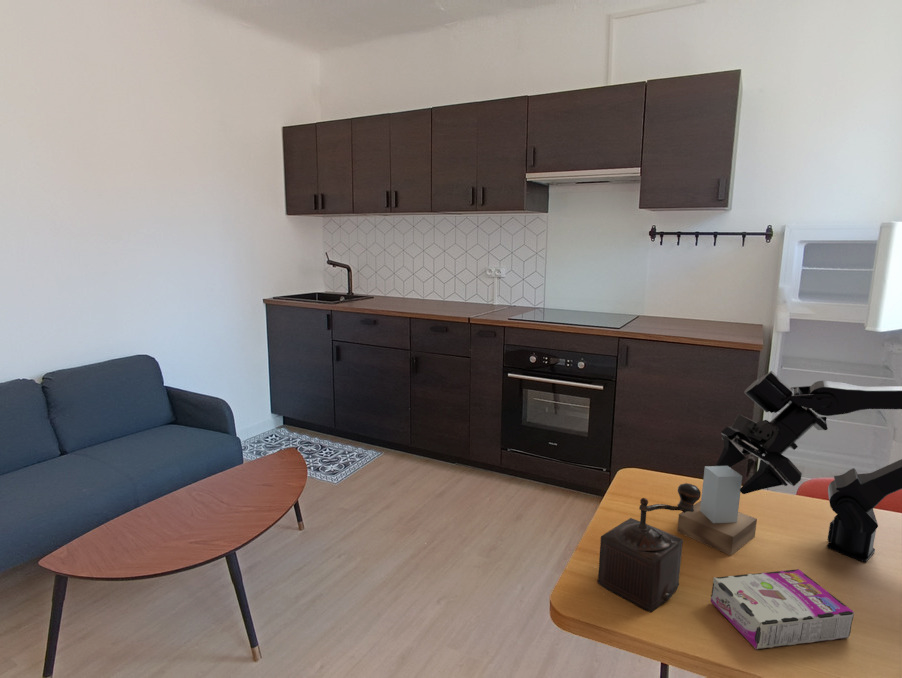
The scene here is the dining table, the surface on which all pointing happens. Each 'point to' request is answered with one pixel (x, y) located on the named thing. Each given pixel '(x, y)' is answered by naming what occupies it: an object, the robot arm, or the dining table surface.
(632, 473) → the dining table surface
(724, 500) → the grey-blue block
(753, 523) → the walnut block
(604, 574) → the manual coffee grinder
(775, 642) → the candy bar box
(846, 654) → the dining table surface
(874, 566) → the dining table surface
